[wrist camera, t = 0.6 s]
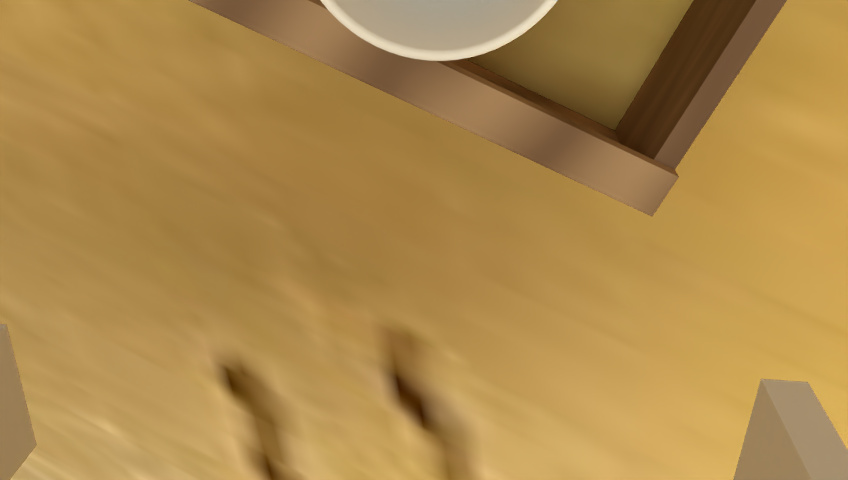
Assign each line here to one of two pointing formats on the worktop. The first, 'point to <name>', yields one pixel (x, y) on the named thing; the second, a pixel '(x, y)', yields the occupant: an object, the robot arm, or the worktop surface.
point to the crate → (536, 115)
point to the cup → (438, 24)
